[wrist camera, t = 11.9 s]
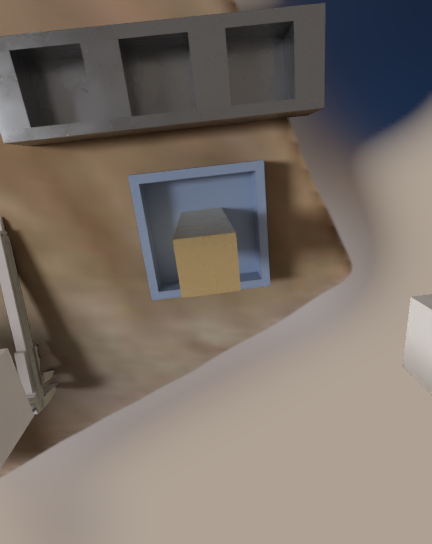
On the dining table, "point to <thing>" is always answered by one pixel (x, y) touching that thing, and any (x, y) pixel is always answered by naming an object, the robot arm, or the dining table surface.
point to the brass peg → (206, 253)
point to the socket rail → (162, 75)
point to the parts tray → (198, 196)
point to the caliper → (22, 331)
